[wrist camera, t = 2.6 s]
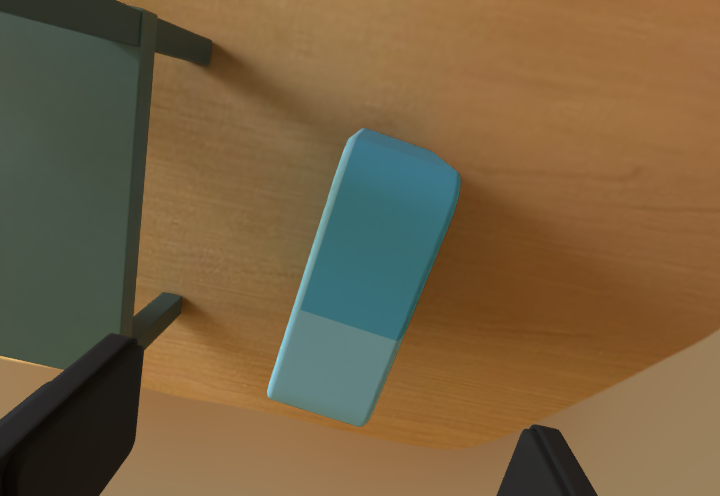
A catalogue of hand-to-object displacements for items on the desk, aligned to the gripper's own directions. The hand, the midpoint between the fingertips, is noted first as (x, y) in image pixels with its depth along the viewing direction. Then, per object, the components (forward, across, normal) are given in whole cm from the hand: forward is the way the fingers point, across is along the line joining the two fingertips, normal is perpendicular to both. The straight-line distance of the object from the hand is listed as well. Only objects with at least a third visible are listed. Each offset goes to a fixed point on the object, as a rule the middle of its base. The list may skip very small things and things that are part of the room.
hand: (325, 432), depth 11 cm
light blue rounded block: (+19, 0, 0) cm, 19 cm away
